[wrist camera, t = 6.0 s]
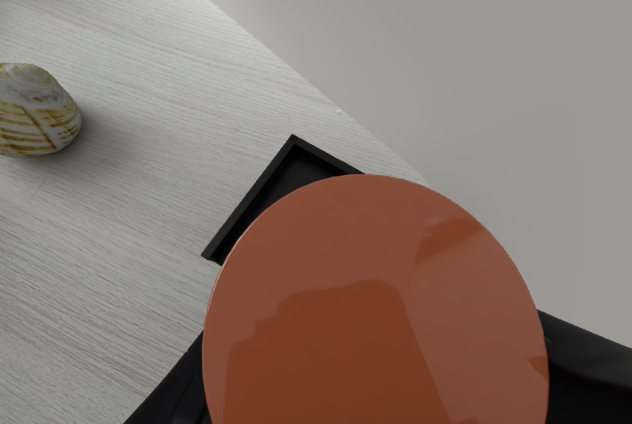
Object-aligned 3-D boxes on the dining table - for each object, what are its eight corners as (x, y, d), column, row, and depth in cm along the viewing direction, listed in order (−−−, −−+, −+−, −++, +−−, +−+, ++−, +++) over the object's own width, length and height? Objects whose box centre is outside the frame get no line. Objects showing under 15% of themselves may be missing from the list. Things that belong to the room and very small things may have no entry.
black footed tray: (384, 232, 24) (421, 203, 16) (332, 329, 21) (346, 353, 13) (297, 182, 25) (292, 133, 17) (238, 267, 22) (199, 254, 14)
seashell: (-32, 106, 26) (-123, -3, 18) (90, 113, 31) (60, 31, 23) (-41, 186, 22) (-156, 94, 15) (98, 178, 28) (66, 107, 20)
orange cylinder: (393, 285, 14) (585, 268, 4) (347, 381, 12) (483, 698, 3) (312, 235, 14) (317, 127, 5) (259, 320, 13) (120, 398, 3)
